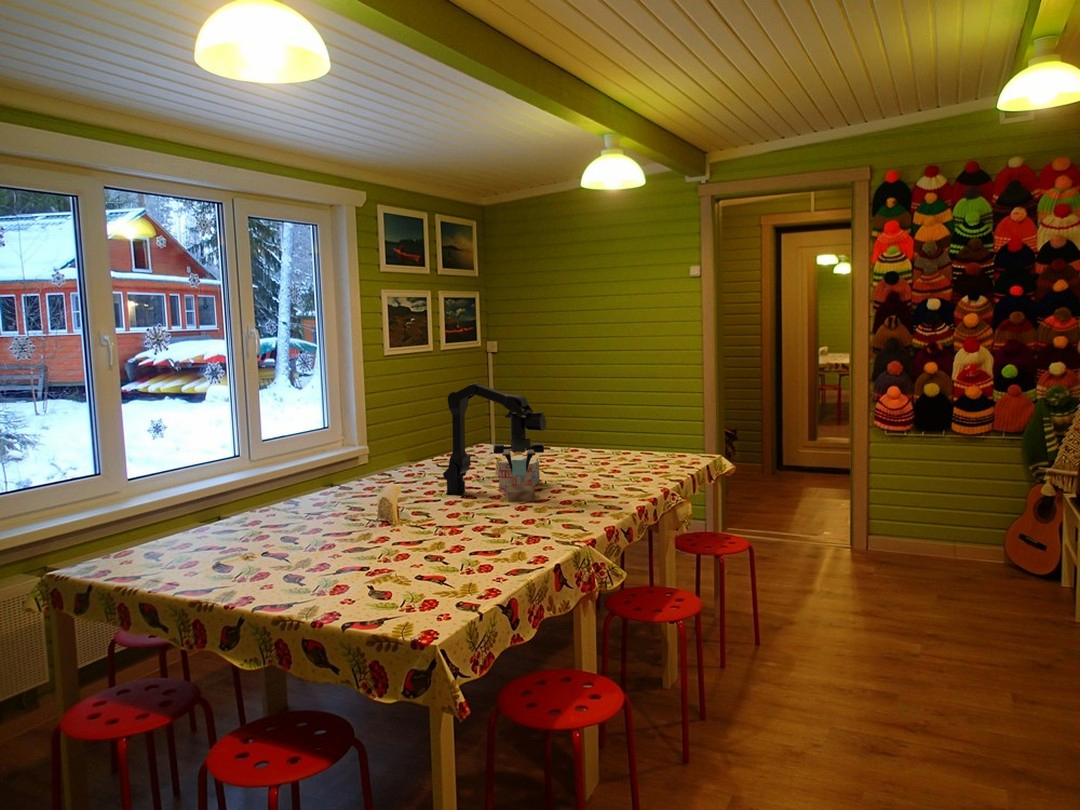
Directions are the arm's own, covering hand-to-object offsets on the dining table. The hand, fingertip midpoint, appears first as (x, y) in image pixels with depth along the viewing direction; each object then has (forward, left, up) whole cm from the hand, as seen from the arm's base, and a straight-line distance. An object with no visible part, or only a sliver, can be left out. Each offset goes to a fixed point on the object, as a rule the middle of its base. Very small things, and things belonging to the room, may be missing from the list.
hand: (519, 471), depth 302 cm
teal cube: (0, 0, -1) cm, 1 cm away
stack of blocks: (0, +19, -11) cm, 22 cm away
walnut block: (0, 0, -11) cm, 11 cm away
